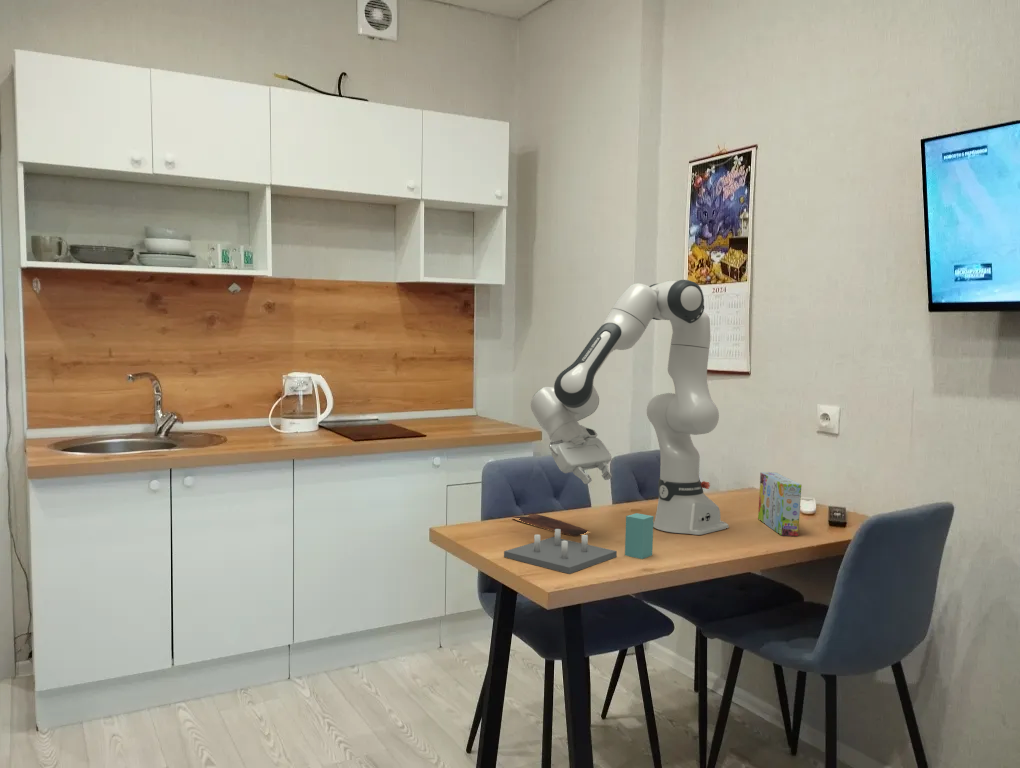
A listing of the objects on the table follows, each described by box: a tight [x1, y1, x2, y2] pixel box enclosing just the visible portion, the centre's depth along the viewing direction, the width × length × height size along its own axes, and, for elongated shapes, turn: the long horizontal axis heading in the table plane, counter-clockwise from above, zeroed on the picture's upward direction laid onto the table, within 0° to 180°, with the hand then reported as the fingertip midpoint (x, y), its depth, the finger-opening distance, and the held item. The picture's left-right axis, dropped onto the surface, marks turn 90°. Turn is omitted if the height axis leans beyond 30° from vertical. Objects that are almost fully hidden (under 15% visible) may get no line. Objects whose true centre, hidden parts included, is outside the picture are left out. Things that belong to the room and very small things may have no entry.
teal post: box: [624, 512, 655, 560], centre depth 199 cm, size 5×5×10 cm
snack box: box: [757, 471, 802, 537], centre depth 232 cm, size 21×6×15 cm, turn 0°
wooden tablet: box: [513, 513, 589, 537], centre depth 229 cm, size 26×2×10 cm
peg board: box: [503, 529, 618, 575], centre depth 196 cm, size 20×20×6 cm
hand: (598, 480), depth 206 cm, fingers open, 8 cm apart
